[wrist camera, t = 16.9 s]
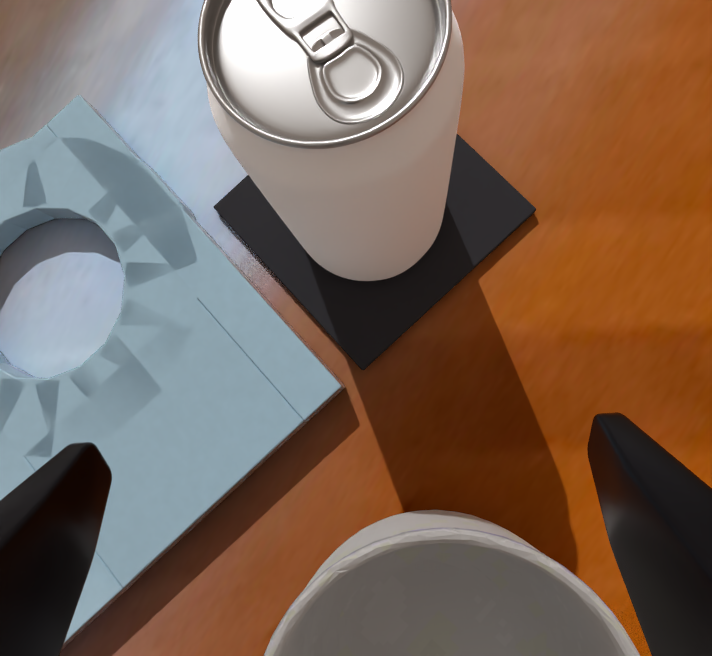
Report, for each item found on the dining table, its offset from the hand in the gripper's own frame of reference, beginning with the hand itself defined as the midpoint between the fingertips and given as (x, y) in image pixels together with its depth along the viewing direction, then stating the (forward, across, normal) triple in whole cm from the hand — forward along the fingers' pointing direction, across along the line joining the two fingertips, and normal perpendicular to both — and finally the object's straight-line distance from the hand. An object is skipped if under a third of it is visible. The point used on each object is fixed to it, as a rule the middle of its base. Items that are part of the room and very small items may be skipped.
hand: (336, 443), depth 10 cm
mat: (+16, 0, +3) cm, 16 cm away
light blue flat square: (+11, +15, +8) cm, 20 cm away
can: (+16, 0, +3) cm, 16 cm away
